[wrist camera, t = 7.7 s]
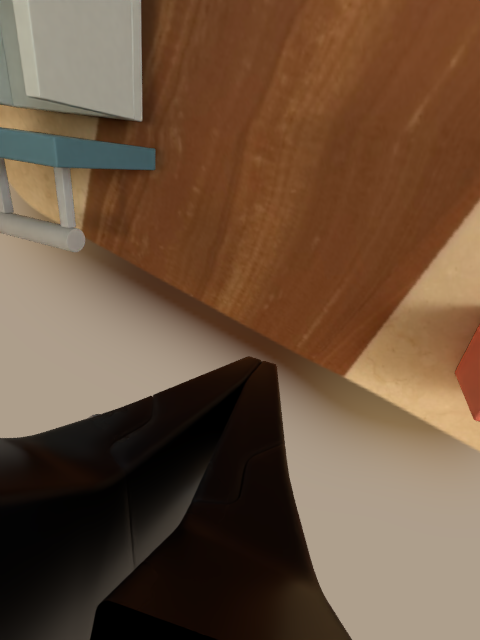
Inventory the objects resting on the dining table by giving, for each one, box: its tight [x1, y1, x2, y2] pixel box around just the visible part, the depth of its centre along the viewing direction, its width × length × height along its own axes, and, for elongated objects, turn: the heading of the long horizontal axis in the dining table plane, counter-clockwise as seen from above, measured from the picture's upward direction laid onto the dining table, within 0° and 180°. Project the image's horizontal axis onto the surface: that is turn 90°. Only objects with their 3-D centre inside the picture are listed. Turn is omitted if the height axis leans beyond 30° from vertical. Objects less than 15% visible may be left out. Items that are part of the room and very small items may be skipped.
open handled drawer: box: [0, 0, 155, 252], centre depth 17 cm, size 18×11×7 cm, turn 172°
